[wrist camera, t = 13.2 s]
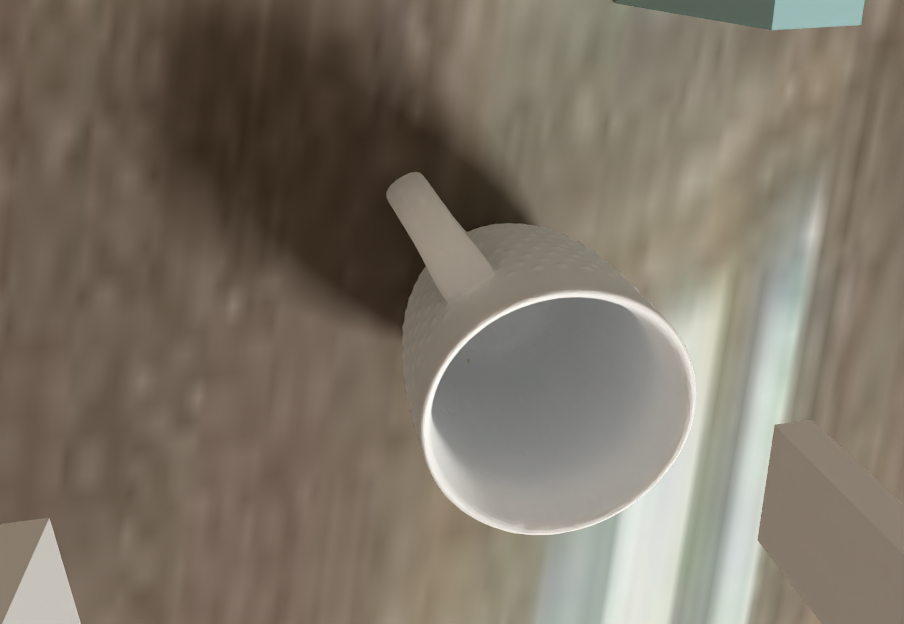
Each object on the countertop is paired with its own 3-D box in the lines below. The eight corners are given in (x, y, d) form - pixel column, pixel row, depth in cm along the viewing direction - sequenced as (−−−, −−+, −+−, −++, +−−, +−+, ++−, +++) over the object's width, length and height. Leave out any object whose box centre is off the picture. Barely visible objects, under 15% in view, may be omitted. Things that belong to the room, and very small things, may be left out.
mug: (293, 215, 39) (289, 328, 28) (480, 78, 38) (559, 136, 26) (463, 419, 46) (518, 583, 34) (627, 307, 45) (744, 436, 33)
